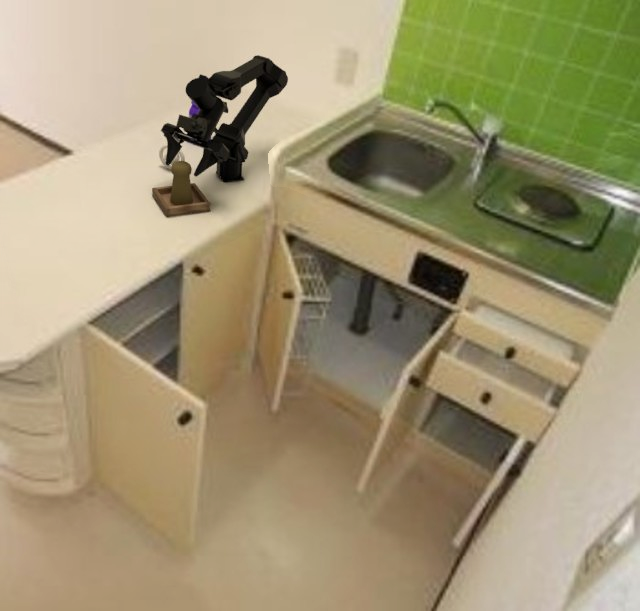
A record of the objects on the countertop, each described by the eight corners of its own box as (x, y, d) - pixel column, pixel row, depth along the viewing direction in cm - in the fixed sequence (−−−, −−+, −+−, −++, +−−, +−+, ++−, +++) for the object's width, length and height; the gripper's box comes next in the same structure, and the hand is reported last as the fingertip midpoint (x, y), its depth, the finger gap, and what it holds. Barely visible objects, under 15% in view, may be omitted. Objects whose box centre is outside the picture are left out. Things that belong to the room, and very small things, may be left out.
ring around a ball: (156, 168, 187) (156, 143, 183) (165, 161, 192) (165, 136, 187) (181, 175, 186) (181, 149, 181) (190, 168, 191) (190, 142, 186)
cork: (189, 207, 170) (190, 169, 163) (167, 204, 170) (166, 166, 163) (195, 197, 175) (195, 160, 168) (173, 194, 175) (173, 156, 168)
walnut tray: (194, 191, 179) (194, 183, 178) (210, 211, 171) (210, 203, 170) (152, 196, 174) (152, 188, 172) (166, 217, 166) (166, 209, 164)
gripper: (164, 92, 164) (136, 145, 162) (224, 112, 158) (196, 168, 156) (184, 114, 174) (158, 164, 173) (241, 134, 168) (214, 186, 167)
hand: (180, 170), depth 167 cm, fingers open, 9 cm apart
